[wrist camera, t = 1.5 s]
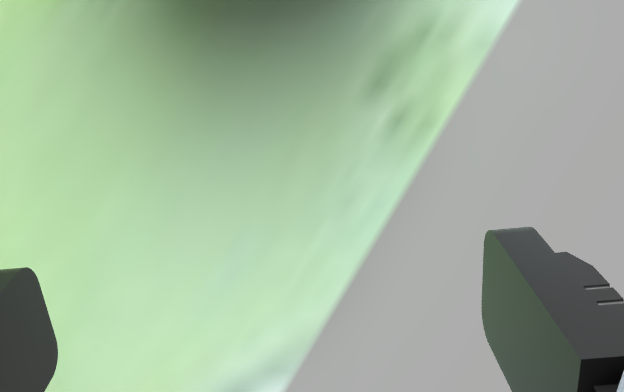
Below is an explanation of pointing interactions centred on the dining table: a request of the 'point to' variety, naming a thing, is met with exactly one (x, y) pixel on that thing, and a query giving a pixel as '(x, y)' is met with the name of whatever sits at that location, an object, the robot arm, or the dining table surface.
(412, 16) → the dining table surface
